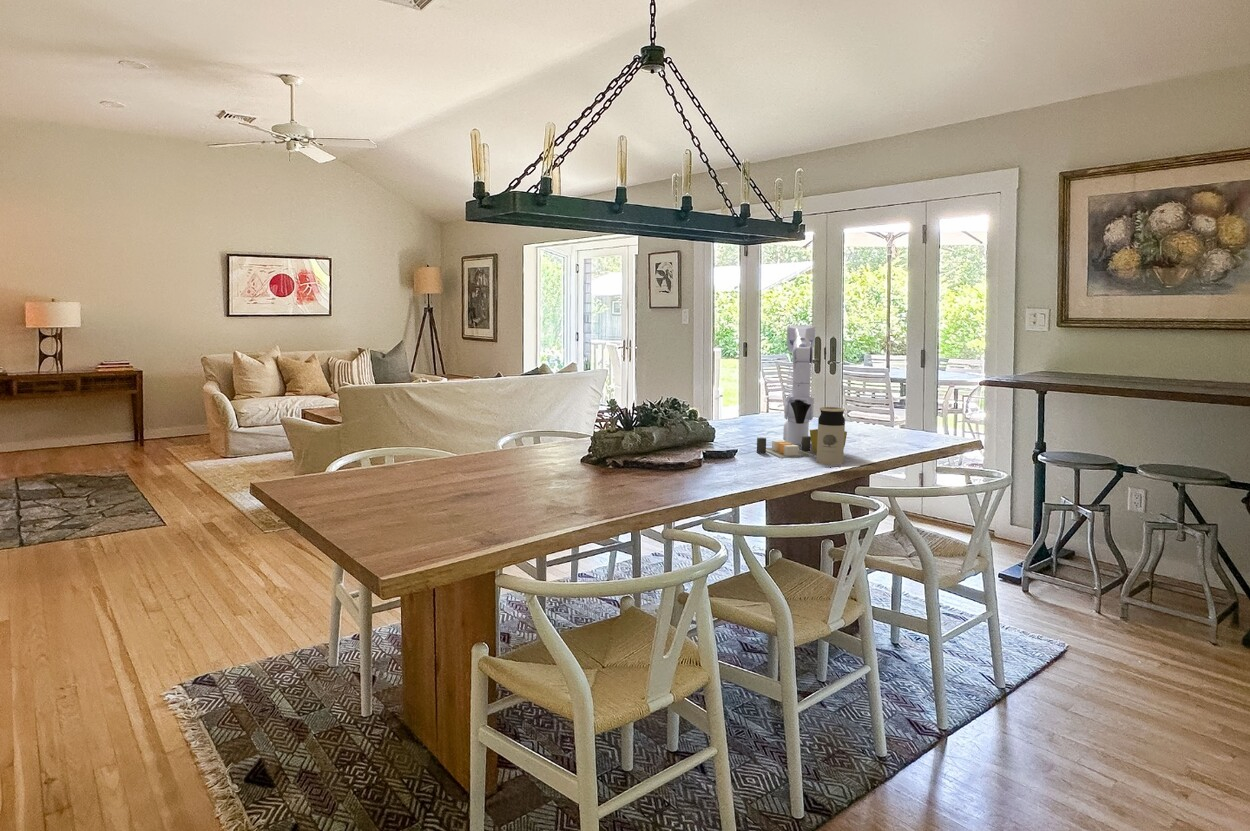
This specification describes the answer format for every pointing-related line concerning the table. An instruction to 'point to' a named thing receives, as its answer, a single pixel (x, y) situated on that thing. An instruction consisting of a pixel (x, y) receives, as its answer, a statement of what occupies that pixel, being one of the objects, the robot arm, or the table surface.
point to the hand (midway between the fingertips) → (799, 423)
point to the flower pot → (815, 437)
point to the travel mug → (831, 436)
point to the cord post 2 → (805, 443)
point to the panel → (781, 455)
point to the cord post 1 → (761, 445)
